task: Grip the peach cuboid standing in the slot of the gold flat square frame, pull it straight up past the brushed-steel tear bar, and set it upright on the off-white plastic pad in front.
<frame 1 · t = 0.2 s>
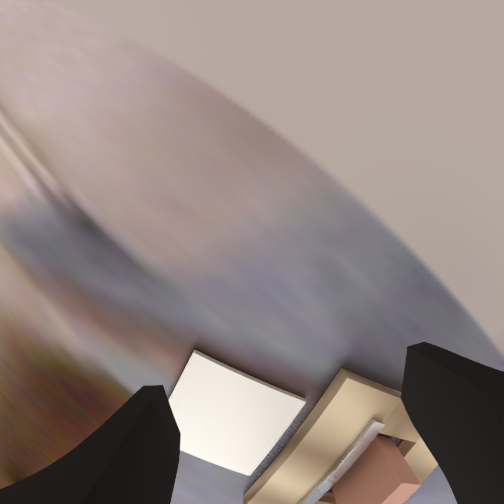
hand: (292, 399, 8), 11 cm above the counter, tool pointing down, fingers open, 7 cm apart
pad: (224, 419, 19), on the counter
peach cuboid: (360, 462, 20), resting in gold flat square frame
gold flat square frame: (361, 463, 20), on the counter
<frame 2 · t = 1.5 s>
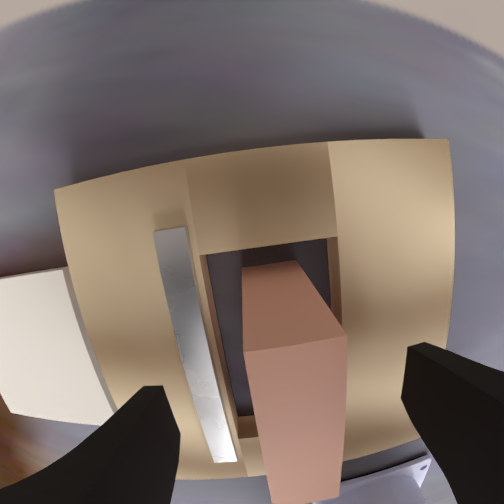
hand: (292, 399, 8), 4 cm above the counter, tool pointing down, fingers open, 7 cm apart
pad: (31, 353, 12), on the counter
peach cuboid: (277, 336, 12), resting in gold flat square frame
gold flat square frame: (277, 337, 12), on the counter
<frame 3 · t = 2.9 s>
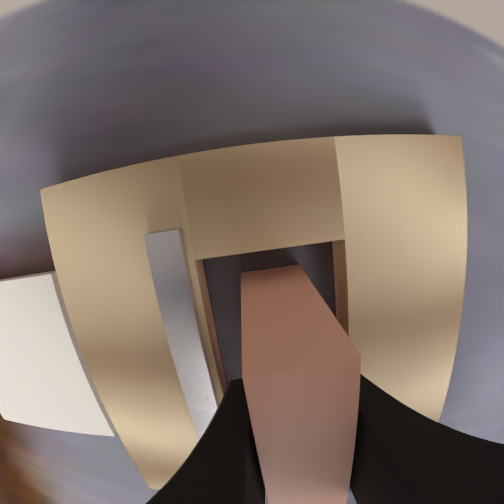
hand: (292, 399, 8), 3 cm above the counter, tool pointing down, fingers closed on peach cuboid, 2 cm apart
pad: (22, 359, 11), on the counter
peach cuboid: (279, 345, 11), resting in gold flat square frame, touching gripper
gold flat square frame: (279, 345, 11), on the counter
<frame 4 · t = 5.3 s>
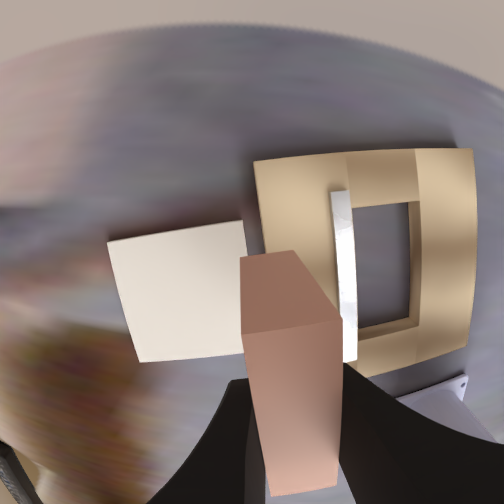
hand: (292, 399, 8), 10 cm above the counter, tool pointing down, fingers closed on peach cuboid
pad: (185, 296, 18), on the counter
peach cuboid: (275, 325, 12), point 6 cm above the counter, touching gripper
gold flat square frame: (380, 266, 18), on the counter
multiport hub: (18, 472, 24), on the counter
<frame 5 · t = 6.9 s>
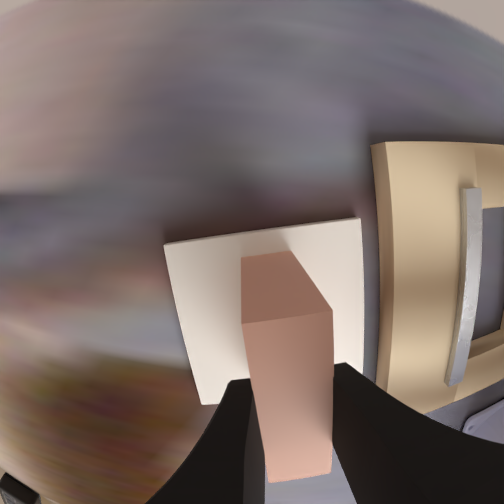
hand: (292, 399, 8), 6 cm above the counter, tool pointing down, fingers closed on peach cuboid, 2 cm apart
pad: (273, 319, 14), on the counter
peach cuboid: (274, 322, 13), resting on pad, touching gripper
gold flat square frame: (485, 275, 14), on the counter
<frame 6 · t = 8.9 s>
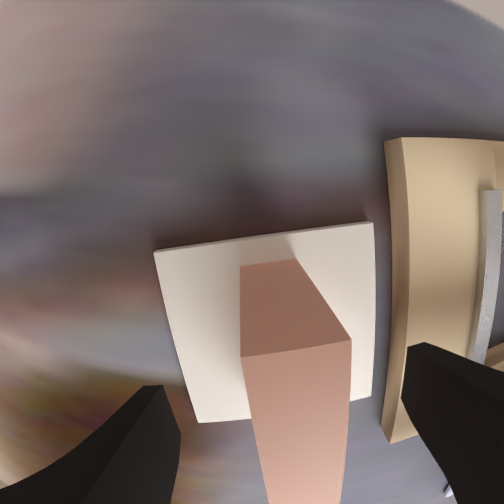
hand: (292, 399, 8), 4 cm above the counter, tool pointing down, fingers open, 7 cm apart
pad: (276, 333, 12), on the counter
peach cuboid: (276, 337, 12), resting on pad
gold flat square frame: (500, 282, 12), on the counter
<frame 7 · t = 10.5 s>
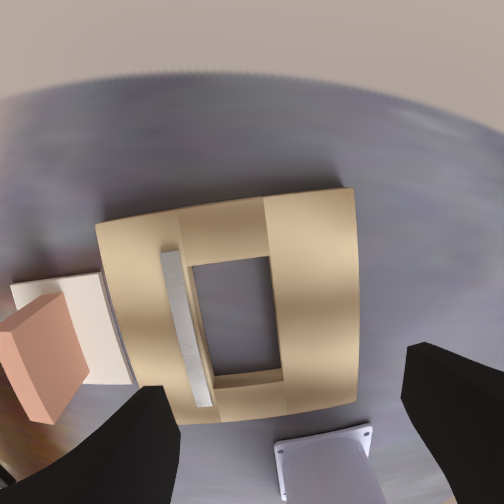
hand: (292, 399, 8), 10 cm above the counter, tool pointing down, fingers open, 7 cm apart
pad: (68, 332, 19), on the counter
peach cuboid: (65, 334, 18), resting on pad
gold flat square frame: (238, 318, 19), on the counter
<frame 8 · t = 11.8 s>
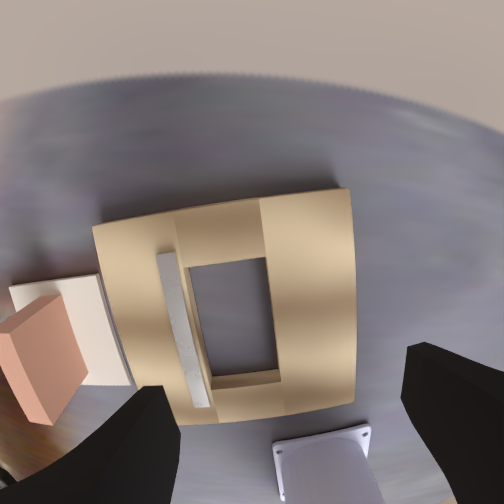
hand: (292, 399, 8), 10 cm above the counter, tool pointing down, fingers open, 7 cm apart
pad: (67, 334, 19), on the counter
peach cuboid: (63, 336, 18), resting on pad
gold flat square frame: (235, 319, 19), on the counter
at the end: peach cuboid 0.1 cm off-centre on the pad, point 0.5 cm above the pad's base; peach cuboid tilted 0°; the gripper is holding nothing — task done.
